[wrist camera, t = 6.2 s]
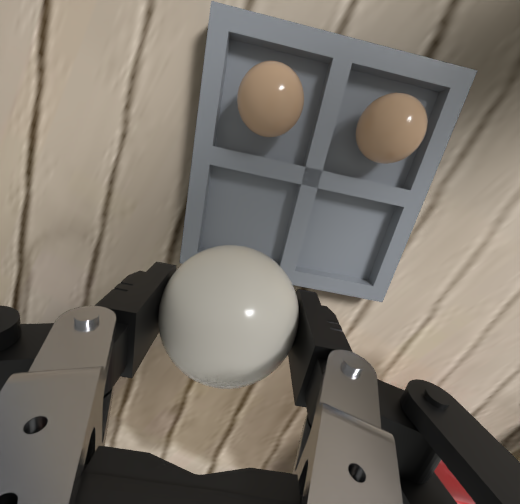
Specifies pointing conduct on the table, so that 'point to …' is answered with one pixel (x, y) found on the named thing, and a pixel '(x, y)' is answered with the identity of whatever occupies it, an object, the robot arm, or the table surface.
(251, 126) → the brown egg
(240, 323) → the pale egg
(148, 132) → the table surface
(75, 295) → the table surface
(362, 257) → the egg tray
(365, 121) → the brown egg
